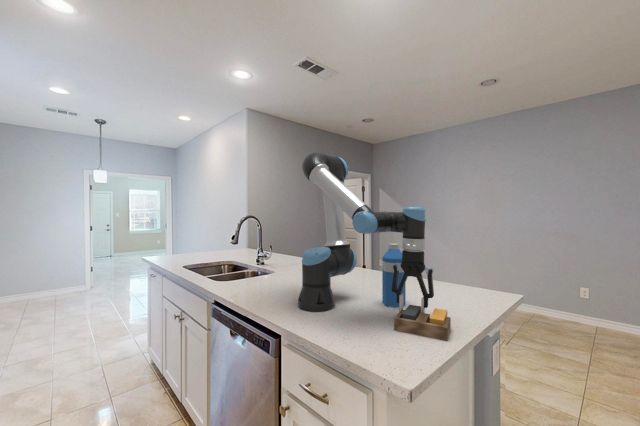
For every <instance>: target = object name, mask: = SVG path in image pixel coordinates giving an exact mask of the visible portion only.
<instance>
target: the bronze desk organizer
mask: <svg viewBox="0 0 640 426" xmlns="http://www.w3.org/2000/svg"><path fill="white" fill-rule="evenodd" d="M405 310H406V309H403V310H401V311H400V312H399V311H398V314H396V315H395V317H394V318H393V331H396V332H401V333H407V334H412V335H417V336H422V337H427V338H431V339H436V340H441V341H446V342H447V341H448V339H449V335H450V332H451V329H452V328H451V316H450V317H449V316H447V317H446V320H445V323H444V325H438V324H432V323H430V317H431V314H430V313H426V312H425V313H420V314H419V316H418V317H417V319H416V321H415V320H410V319H404V318H402V313H403V312H404V311H405Z"/></svg>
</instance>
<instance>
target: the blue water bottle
mask: <svg viewBox="0 0 640 426" xmlns="http://www.w3.org/2000/svg"><path fill="white" fill-rule="evenodd" d="M381 259H382V261H381V263H382V270H381V272H382V291H381V292H382V295H381V296H382V304H383V305H384V306H386V307H390V308H399V303H397V294H396V293H395V292H392V283H393V276H394V269H393V266H394V265H395V264H397V265H400V264H401V263H402V251H401V250H400V244H399V243H388V249H387V250H386V252H385V253H384V254H383V256H382V258H381ZM403 275H404V271H403V269H402V268H400V270H399V275H398V283H397V289H398V288H399V285H400V283H401V280H402V278H403ZM406 290H407V289H406V284H405V285H404V287H403V289H402V292H401V293H402V294H403V307H405V306H406V296H407V295H406V294H407V293H406Z"/></svg>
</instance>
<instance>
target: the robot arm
mask: <svg viewBox="0 0 640 426" xmlns="http://www.w3.org/2000/svg"><path fill="white" fill-rule="evenodd" d="M301 169H302V172H303V175H304V176H305V177H304V178H306V179H307V180H308V181H309V182H310V183H311V184H313V185H317V186H318V188H319V189H320V190H322V196H323V199H322V200H323V207H324V208H323V210H324V221H325V222H324V223H325V231H326V232H325V234H326V243H325V244H324V245H323V246H317V247H310V248H306V249H305V250H304V251H303V253H302V259H301V264H302V266H301V269H302V272H301V274H302V275H301V276H302V278H301V283H302V285H301V290H300V293H299V296H298V300H297V307H298V308H299V309H301V310H303V311H307V312H325V311H329V310H332V309H334V308H335V307H336V299H335V297H334V293H333V289H332V286H331V284H332V282H331V278H333V277H336V276H344V275H346V274H349V273H351V272H352V271H353V270H354V269H355V267H356V266H357V265H356V264H357V260H358V258H357V254H356V252H355V251H354V249H353V248H351V243H350V242H349V241H348V240H347V235H346V223H345V214H346V216H348V217H349V218H350V220H352V222H351V223H352V226H353V229H354V230H355V232H357V233H359V234H365V235H366V234H367V235H369V234H370V235H371V234H376V233H378V234H379V233H389V232H390V233H402V247H401V248H402V251H401V252H402V263H401V264H400V265H397V264H395V265H394V266H393V269H394V276H393V283H392V292H395V293H396V294H397V303H399V307H398V308H399V309H398V313H399V312H400V311H401V310H404V306H403V294H402V293H401V292H402V289H403V287H404V285H405V286H406V282H407V280H408V278H409V277H413V278H416V280H417V282H418V285H419V288H420V292H421V294H422V298H421V303H420V304H421V305H420V306H421V313H426V309H428V306H429V299H433V297H434V296H435V292H434V279H433V273H434V268H433V267H432V268H429V267H427V266H426V264H425V251H424V250H425V239H426V238H425V233H426V232H425V231H426V210H425V208H424V207H422V206H404V207H403V208H402V211H399V212H398V211H397V212H396V211H375V210H373V209H372V208H370V206H368V204H366V202H364V201H363V200H362V199H360V198H359V197H358V195H357V194H355V193H354V192H353V191H352V190H351V189H350V188H349V187H347V185H346V184H345V180H346V178H347V176H348V173H349V167H348V164H347V162H346V160H344V159H343V158H342V157H339V156H338V155H335V154H333V155H331V154H327V153H323V152H318V151H316V152H311V153H310V154H307V155H306V156H305V158H304V159H303V162H302V166H301ZM400 268H402V269H403V271H404V275H403V278H402V280H401V283H400V285H399V288H398V289H397V283H398V275H399V270H400ZM424 271H425V273H426V275H427V276H426V277H427V286H428V288H427V287H426V283H425V281H424V278H423V275H422V273H423V272H424ZM427 289H428V291H427Z"/></svg>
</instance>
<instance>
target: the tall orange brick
mask: <svg viewBox="0 0 640 426" xmlns="http://www.w3.org/2000/svg"><path fill="white" fill-rule="evenodd" d="M446 317H448V310H447V309H443V308H437V307H436V308H434V309H433V310H432V314H430V323H432V324H438V325H444V323H445V320H446Z"/></svg>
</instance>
